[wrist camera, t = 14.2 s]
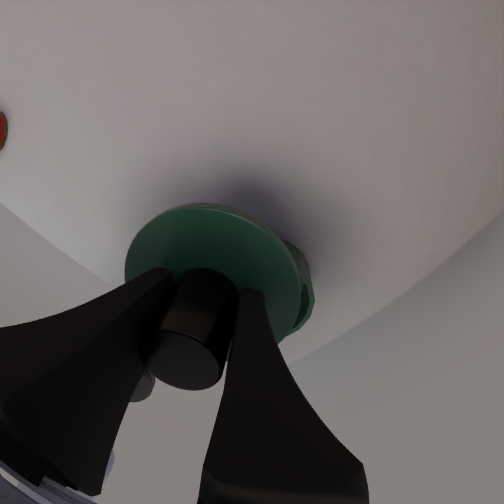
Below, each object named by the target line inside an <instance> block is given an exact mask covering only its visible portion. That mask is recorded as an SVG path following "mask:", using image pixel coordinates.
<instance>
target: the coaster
mask: <svg viewBox="0 0 504 504" xmlns="http://www.w3.org/2000/svg"><path fill="white" fill-rule="evenodd" d="M0 115H1V117H2V120H3V136H2V141H1V143H0V150H1V149H2V147H3V145H4V143H5V140H6V136H7V122H6V118H5V116H4V114H3V113H2V112H0Z"/></svg>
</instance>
